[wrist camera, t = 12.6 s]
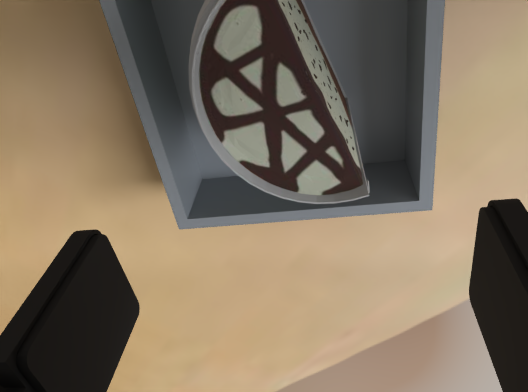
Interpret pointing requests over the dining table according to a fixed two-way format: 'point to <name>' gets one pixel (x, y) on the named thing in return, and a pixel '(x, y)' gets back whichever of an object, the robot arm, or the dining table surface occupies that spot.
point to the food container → (274, 101)
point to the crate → (352, 80)
